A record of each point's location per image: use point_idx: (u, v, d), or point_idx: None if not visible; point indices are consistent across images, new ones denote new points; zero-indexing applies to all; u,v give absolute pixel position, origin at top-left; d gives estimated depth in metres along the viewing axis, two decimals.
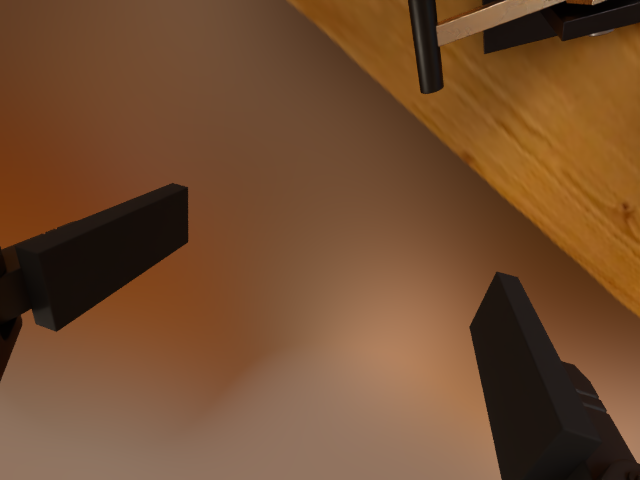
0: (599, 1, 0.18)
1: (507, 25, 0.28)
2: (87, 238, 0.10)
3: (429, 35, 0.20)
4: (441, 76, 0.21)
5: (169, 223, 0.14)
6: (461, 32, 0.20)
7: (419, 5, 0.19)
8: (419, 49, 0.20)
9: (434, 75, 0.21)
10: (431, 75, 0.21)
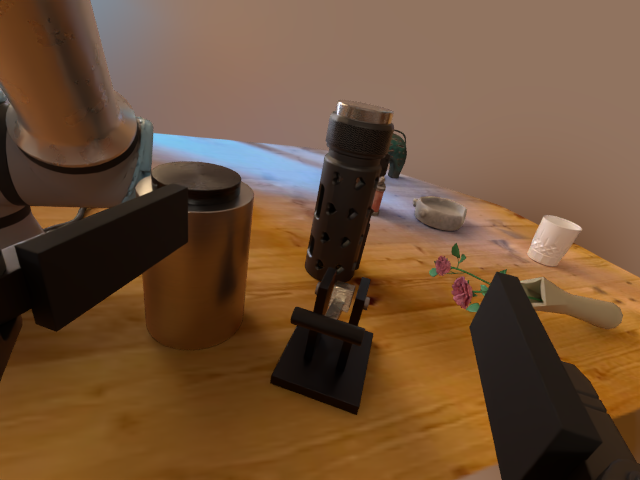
0: (353, 290, 0.36)
1: (346, 387, 0.37)
2: (87, 238, 0.10)
3: (326, 317, 0.28)
4: None
5: (169, 223, 0.14)
6: (334, 314, 0.30)
7: (307, 312, 0.28)
8: (331, 324, 0.27)
9: (352, 325, 0.27)
10: (352, 326, 0.27)
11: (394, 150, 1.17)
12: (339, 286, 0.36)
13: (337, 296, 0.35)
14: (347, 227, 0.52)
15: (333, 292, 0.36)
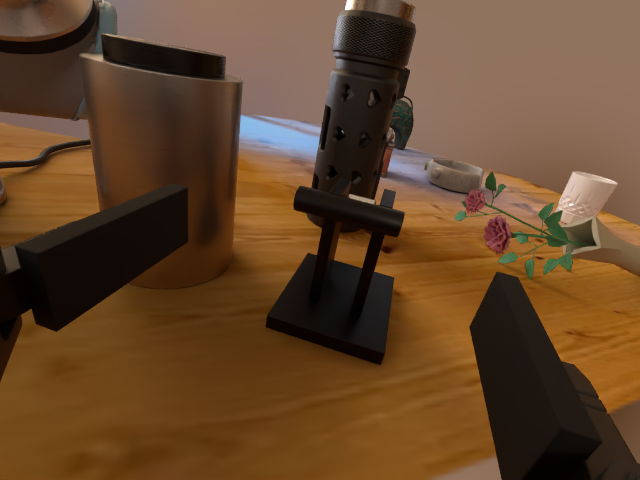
0: (374, 200, 0.27)
1: (365, 331, 0.28)
2: (87, 238, 0.10)
3: (346, 198, 0.19)
4: None
5: (169, 223, 0.14)
6: None
7: (317, 190, 0.19)
8: (354, 205, 0.18)
9: (385, 207, 0.18)
10: (385, 208, 0.18)
11: (400, 117, 1.09)
12: None
13: None
14: (358, 158, 0.43)
15: None
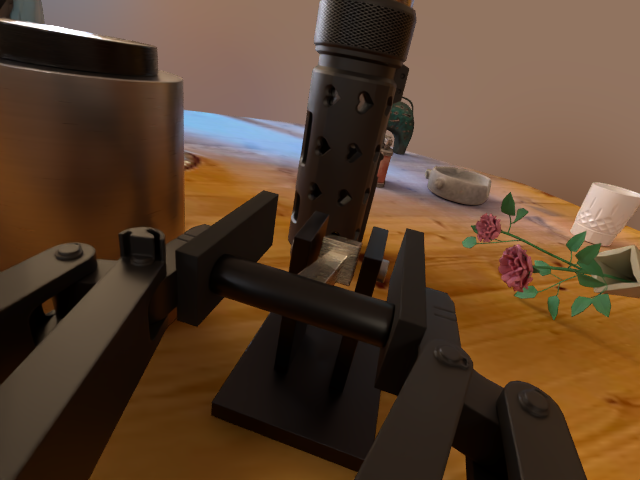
0: (358, 245, 0.20)
1: (347, 423, 0.21)
2: (222, 242, 0.11)
3: (298, 276, 0.11)
4: None
5: (264, 228, 0.15)
6: (320, 275, 0.13)
7: (250, 265, 0.11)
8: (309, 293, 0.11)
9: (363, 295, 0.11)
10: (362, 297, 0.11)
11: (400, 120, 1.01)
12: (333, 239, 0.20)
13: (329, 254, 0.19)
14: (346, 174, 0.36)
15: (322, 249, 0.20)
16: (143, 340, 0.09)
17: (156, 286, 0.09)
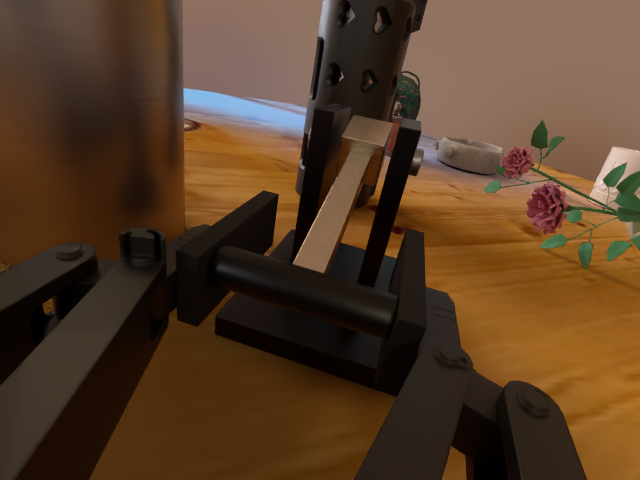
0: (384, 142, 0.16)
1: (374, 342, 0.18)
2: (222, 242, 0.11)
3: (295, 272, 0.10)
4: (375, 288, 0.11)
5: (265, 228, 0.15)
6: (325, 242, 0.12)
7: (242, 266, 0.11)
8: (306, 299, 0.10)
9: (364, 292, 0.10)
10: (362, 297, 0.10)
11: (406, 96, 0.98)
12: (354, 135, 0.17)
13: (348, 163, 0.16)
14: (361, 107, 0.33)
15: (341, 150, 0.17)
16: (143, 340, 0.09)
17: (156, 286, 0.09)
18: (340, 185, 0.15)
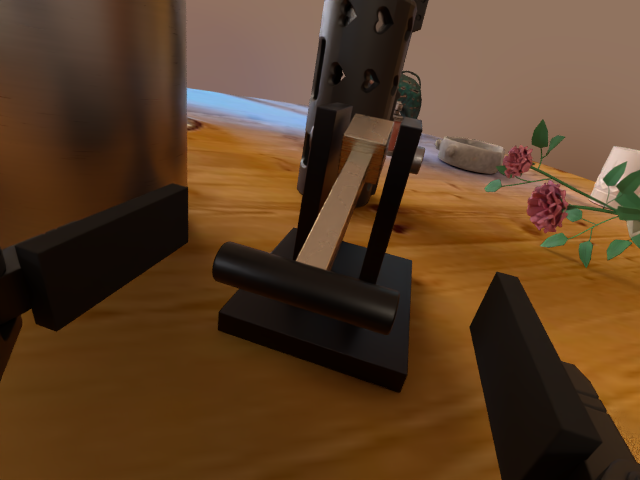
0: (385, 140, 0.16)
1: (375, 338, 0.18)
2: (87, 238, 0.10)
3: (298, 269, 0.11)
4: (377, 285, 0.11)
5: (169, 223, 0.14)
6: (328, 240, 0.12)
7: (247, 263, 0.11)
8: (309, 295, 0.10)
9: (366, 288, 0.10)
10: (364, 293, 0.10)
11: (407, 96, 0.98)
12: (355, 133, 0.17)
13: (349, 161, 0.16)
14: (362, 106, 0.33)
15: (343, 148, 0.17)
16: None
17: None
18: (342, 183, 0.15)
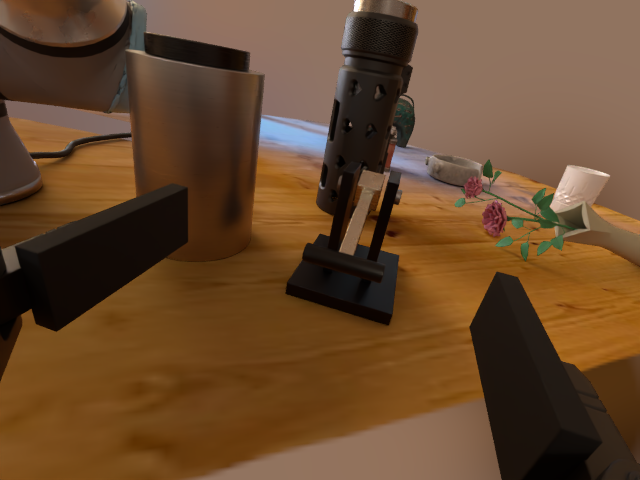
0: (380, 188, 0.30)
1: (375, 297, 0.32)
2: (87, 238, 0.10)
3: (341, 255, 0.25)
4: None
5: (169, 223, 0.14)
6: (352, 242, 0.26)
7: (318, 252, 0.25)
8: (346, 265, 0.24)
9: (371, 263, 0.24)
10: (370, 264, 0.24)
11: (402, 116, 1.12)
12: (363, 184, 0.31)
13: (361, 200, 0.30)
14: (365, 148, 0.47)
15: (357, 191, 0.31)
16: None
17: None
18: (357, 213, 0.29)
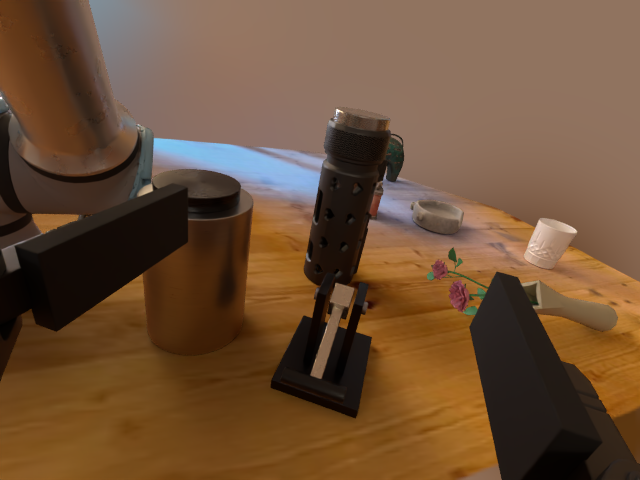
0: (348, 304, 0.36)
1: None
2: (87, 238, 0.10)
3: (311, 380, 0.31)
4: (339, 385, 0.31)
5: (169, 223, 0.14)
6: (322, 364, 0.32)
7: (293, 377, 0.31)
8: (315, 390, 0.30)
9: (334, 388, 0.30)
10: (334, 389, 0.30)
11: (391, 154, 1.18)
12: (335, 300, 0.37)
13: (332, 315, 0.36)
14: (345, 232, 0.53)
15: (330, 305, 0.37)
16: None
17: None
18: (328, 331, 0.35)
